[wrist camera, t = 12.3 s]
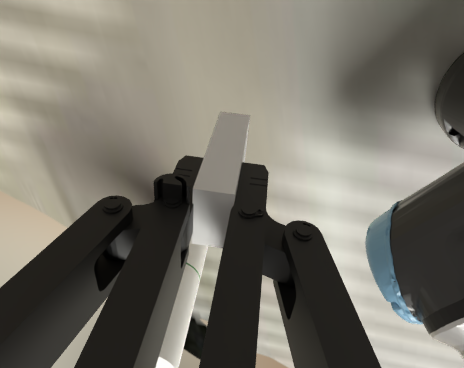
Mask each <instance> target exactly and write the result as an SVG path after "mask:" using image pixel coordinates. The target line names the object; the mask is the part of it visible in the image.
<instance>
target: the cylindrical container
mask: <svg viewBox="0 0 464 368" xmlns="http://www.w3.org/2000/svg"><path fill="white" fill-rule="evenodd" d="M207 250H208V246H205V245H198V244H192V237H191V240H190V243H189V255H188V259H187V262H186V266H185V269H184V272H183V276H182V279H181V283H180V286H179V289H178V293H177V296H176V300H175V303H174V306H173V310H172V313H171V317H170V320H169V323H168V327H167V330H166V334H165V337H164V340H163V344H162V347H161V351H160V354H159V357H158V361H157V364H156V368H179V364H180V360H181V355H182V352H183V348H184V344H185V339H186V335H187V331H188V327H189V323H190V319H191V315H192V311H193V307H194V303H195V299H196V295H197V290H198V286H199V282H200V278H201V274H202V270H203V266H204V262H205V258H206V254H207Z"/></svg>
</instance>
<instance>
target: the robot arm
mask: <svg viewBox="0 0 464 368" xmlns="http://www.w3.org/2000/svg"><path fill="white" fill-rule="evenodd" d="M435 112H436V117H437V120H438V123H439V125H440V127H441V128H442V130H443V131H444V132H445V133H446V135H447V136H448V137H449V138H450V139H451V140H452V141H453V142H454V143H455V144H456V145H458V146H459V147H461V148H463V149H464V53H463V54H462V55H461V56H460V57H459V58H458V59H457V60H456V61H455V62H454V64H453V65H452V66H451V67H450V69H449V70H448V71H447V73H446V74H445V76H444V78H443V80H442V82H441V84H440V86H439V89H438V92H437V96H436V101H435ZM249 120H250V115H243V114H235V113H227V112H220V114H219V117H218V120H217V122H216V125H215V128H214V131H213V134H212V136H211V139H210V142H209V145H208V147H207V150H206V153H205V156H204V158H200V157H193V156H185V157H183V158H182V159H181V160H179V161H178V163H177V165H176V168H175V170H174V172H173V174H165V175H162V176H160V177H158V178H156V180H155V181H154V196H155V200H154V202H153V203H150V204H145V205H135V206H132V203H131V202H130V200H129V199H127V198H125V197H122V196H109V197H106V198H103V199H101V200H100V201H98V202H97V203H96V204H95V205H93V206H92V207H91V208H90V209H89V210H88V211H87V212H86V213H84V214H83V215H82V216H81V217H80V218H79V219H78V220H76V221H75V222H74V223H73V224H72V225H71V226H70V227H69V228H67V229H66V230H65V231H64V232H63V233H62V234H61V235H60V236H58V237H57V238H56V239H55V240H54V241H53V242H52V243H51V244H50V245H48V246H47V247H46V248H45V249H44V250H43V251H41V252H40V253H39V254H38V255H37V256H36V257H35V258H34V259H33V260H31V261H30V262H29V263H28V264H27V265H26V266H25V267H23V268H22V269H21V270H20V271H19V272H18V273H17V274H16V275H15V276H13V277H12V278H11V279H10V280H9V281H8V282H6V283H5V284H4V285H3V286H2V287H1V288H0V368H51V367H52V366H53V364H54V363H55V362H56V360H57V359H58V358H59V357H60V356H61V354H62V353H63V352H64V350H65V349H66V348H67V347H68V346H69V344H70V343H71V342H72V341H73V339H74V338H75V337H76V336H77V334H78V333H79V332H80V331H81V329H82V328H83V327H84V326H85V324H86V323H87V322H88V321H89V319H90V318H91V317H92V316H93V314H94V313H95V312H96V311H97V309H98V308H99V307H100V306H101V304H102V303H103V302H104V301H105V300H106V298H107V297H108V298H107V300H106V302H105V305H104V307H103V309H102V311H101V313H100V315H99V317H98V319H97V321H96V323H95V325H94V327H93V330H92V331H91V334H90V336H89V338H88V340H87V342H86V344H85V346H84V348H83V350H82V352H81V355H80V357H79V359H78V361H77V363H76V365H75V367H74V368H156V364H157V361H158V357H159V354H160V351H161V347H162V344H163V340H164V337H165V334H166V330H167V327H168V323H169V320H170V317H171V313H172V310H173V306H174V303H175V300H176V296H177V293H178V289H179V286H180V283H181V279H182V276H183V272H184V269H185V266H186V262H187V259H188V255H189V243H190V240H191V237H192V244H198V245H205V246H212V247H218V248H223V251H222V256H221V261H220V266H219V271H218V276H217V281H216V286H215V291H214V296H213V301H212V306H211V311H210V316H209V321H208V326H207V331H206V336H205V340H204V345H203V350H202V355H201V360H200V365H199V368H255V365H256V351H257V338H258V324H259V310H260V297H261V283H262V275H265V276H267V277H269V278H271V279H273V283H274V287H275V291H276V295H277V299H278V303H279V307H280V311H281V315H282V319H283V323H284V327H285V331H286V335H287V339H288V343H289V347H290V351H291V355H292V359H293V363H294V367H295V368H381V366H380V364H379V362H378V359H377V357H376V355H375V353H374V350H373V348H372V346H371V344H370V341H369V339H368V337H367V335H366V332H365V330H364V328H363V326H362V323H361V321H360V319H359V317H358V314H357V312H356V310H355V308H354V305H353V303H352V301H351V299H350V296H349V294H348V292H347V290H346V287H345V285H344V283H343V281H342V278H341V276H340V274H339V272H338V269H337V267H336V265H335V263H334V260H333V258H332V256H331V254H330V251H329V249H328V247H327V245H326V242H325V240H324V238H323V236H322V233H321V232H320V230H319V229H318V228H317V227H316V226H314V225H313V224H311V223H308V222H306V221H292V222H290V223H289V224H287V225H286V226H285V225H283V224H280V223H278V222H276V221H274V220H273V219H272V218H270V216H269V215H268V214H267V212H266V199H267V186H268V171H267V169H266V167H265V166H264V165H258V164H251V163H244V162H245V154H246V145H247V137H248V129H249ZM366 253H367V258H368V262H369V265H370V268H371V271H372V274H373V276H374V279H375V281H376V283H377V285H378V287H379V289H380V291H381V293H382V294H383V296H384V298H385V299H386V301H388V302H391V305H392V308H393V310H394V311H395V312H396V313H397V314H398V315H399V316H400V317H401V318H402V319H404V320H406V321H407V322H409V323H416V324H424V326H425V328H426V329H427V331H428V333H429V335H430V336H431V338H432V339H434V340H436V341H438V342H441V343H443V344H445V345H448V346H450V347H452V348H454V349H455V350H456V351H458V352H459V354H460V355H461V357H462V359H463V360H464V163H462V164H460V165H459V166H457V167H456V168H454V169H453V170H451V171H449V172H448V173H446V174H445V175H443V176H441V177H440V178H438V179H437V180H435V181H433V182H432V183H430V184H429V185H427V186H425V187H424V188H422V189H420V190H419V191H417V192H416V193H414V194H412V195H411V196H409V197H407V198H406V199H404V200H401V201H399V202H397V203H395V204H394V205H393V206H392V207H391V209H389V210H388V211H387V212H385V213H384V214H382V215H381V216H379V217H378V218H376V219H375V220H374V221H373V222H372V223H371V224H370V226H369V228H368V231H367V236H366Z"/></svg>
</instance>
